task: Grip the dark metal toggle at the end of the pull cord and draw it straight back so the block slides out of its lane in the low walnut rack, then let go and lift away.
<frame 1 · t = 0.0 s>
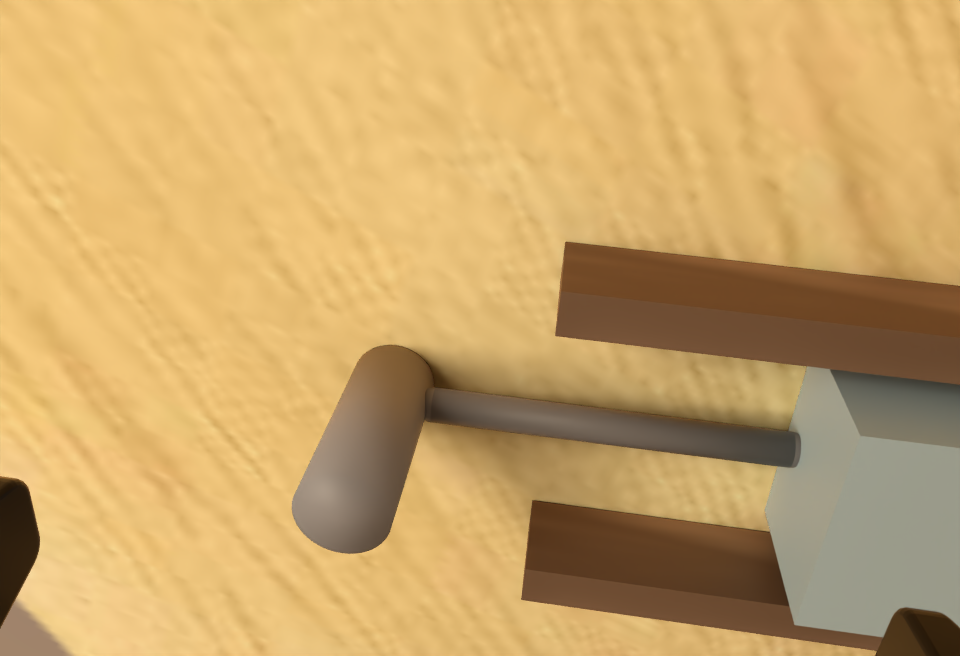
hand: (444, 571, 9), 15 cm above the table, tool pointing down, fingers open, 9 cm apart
lane rack: (824, 434, 25), on the table
corded block: (913, 444, 24), on the table
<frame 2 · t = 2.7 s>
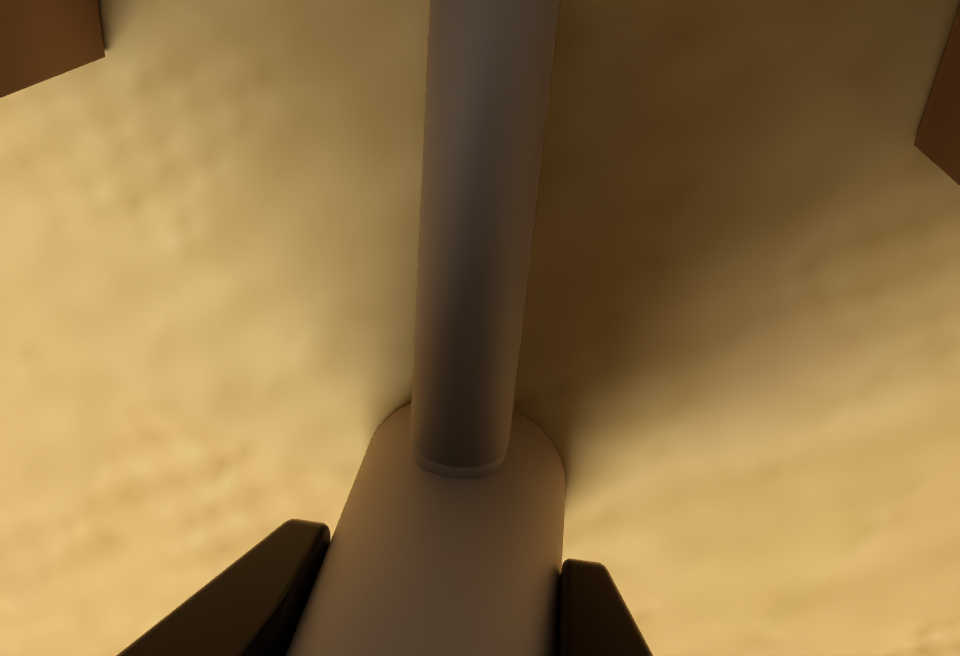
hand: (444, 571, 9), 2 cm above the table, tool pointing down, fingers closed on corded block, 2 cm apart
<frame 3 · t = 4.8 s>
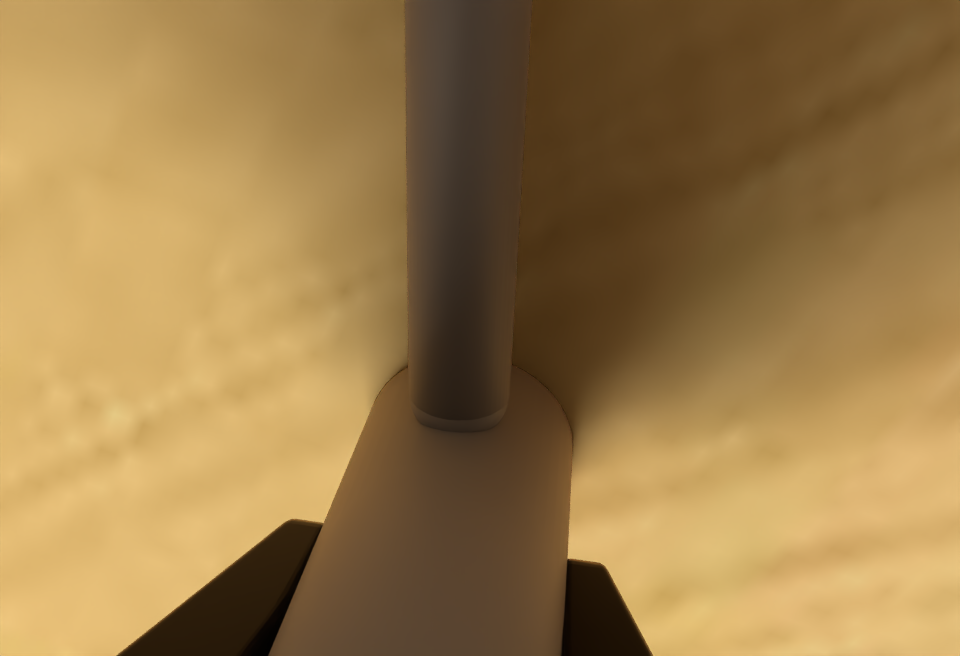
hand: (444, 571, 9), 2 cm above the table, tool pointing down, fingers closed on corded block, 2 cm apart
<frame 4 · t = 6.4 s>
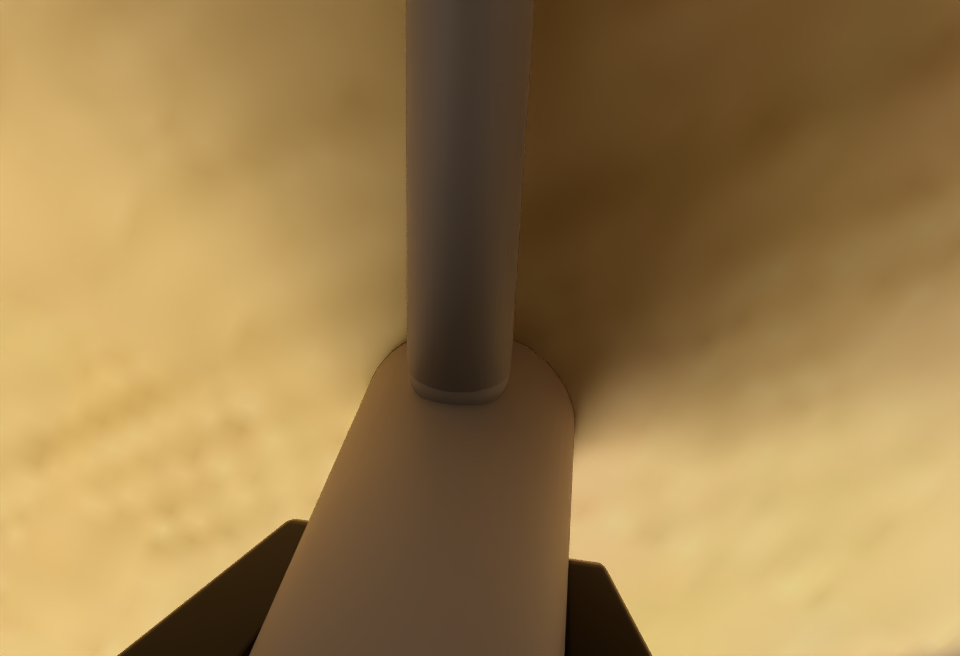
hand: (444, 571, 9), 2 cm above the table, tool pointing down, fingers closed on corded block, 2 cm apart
when the fingers open (2 cm above the table, at t = 7.1 s): corded block stays where it is, on the table.
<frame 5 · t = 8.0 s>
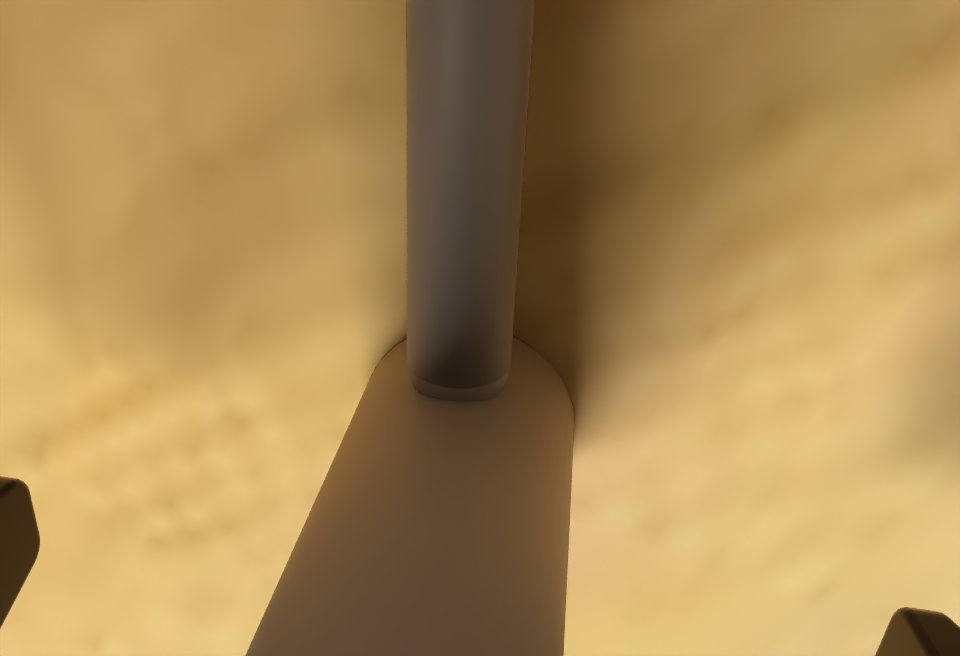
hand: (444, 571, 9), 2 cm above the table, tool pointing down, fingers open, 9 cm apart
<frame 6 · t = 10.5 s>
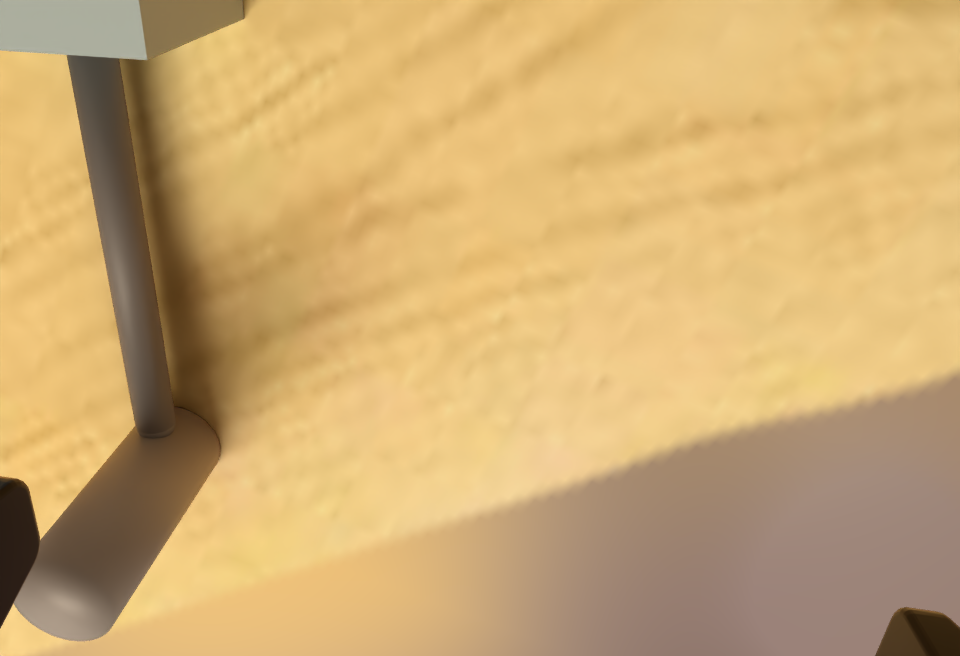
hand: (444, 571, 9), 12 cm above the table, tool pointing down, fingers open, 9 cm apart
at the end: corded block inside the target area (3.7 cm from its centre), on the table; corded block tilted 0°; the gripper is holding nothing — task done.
